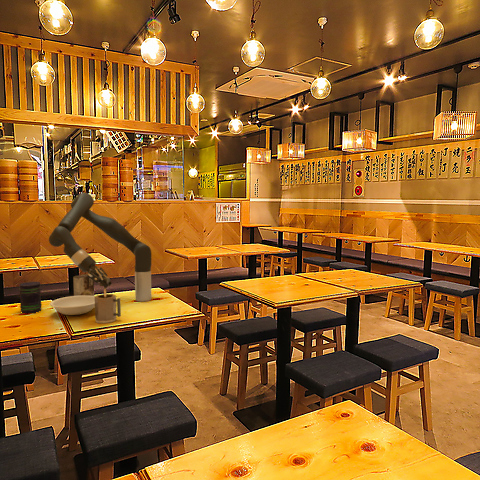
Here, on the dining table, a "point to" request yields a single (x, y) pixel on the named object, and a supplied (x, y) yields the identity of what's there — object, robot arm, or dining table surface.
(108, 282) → the plunger
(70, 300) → the soup bowl
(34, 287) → the storage jar
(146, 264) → the robot arm
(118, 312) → the brown mug
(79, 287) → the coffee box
